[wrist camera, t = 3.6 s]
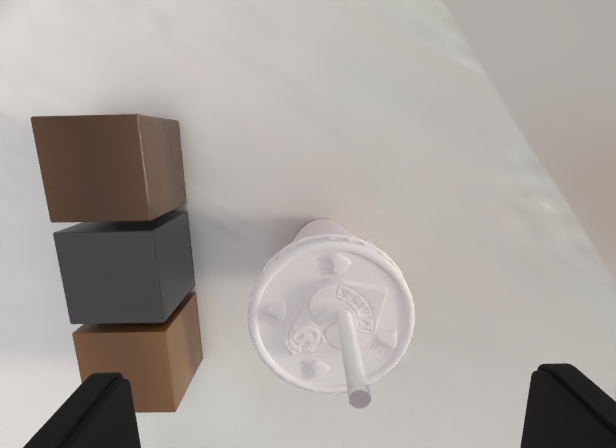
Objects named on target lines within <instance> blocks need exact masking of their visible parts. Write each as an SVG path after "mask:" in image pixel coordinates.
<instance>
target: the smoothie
mask: <svg viewBox="0 0 616 448" xmlns="http://www.w3.org/2000/svg"><path fill="white" fill-rule="evenodd" d="M248 325H249V332H250V336H251V339H252V342H253V345H254V347H255V349H256V351H257V353H258V355H259V356H260V358H261V359H262V361H263V362H264V363H265V364H266V365H267V367H268V368H269V369H270V370H271V371H272V372H274V373H275V374H276V375H277V376H279V377H280V378H281V379H283V380H285V381H286V382H288V383H290V384H292V385H294V386H296V387H299V388H302V389H305V390H308V391H313V392H319V393H343V392H348V398H349V403H350V404H351V405H352V406H353V407H355V408H364V407H366V406H368V405H369V403H370V401H371V396H370V392H369V387H368V385H370V384H372V383H374V382H376V381H377V380H379V379H381V378H382V377H383V376H385V375H386V374H387V373H388V372H390V371H391V370H392V369H393V368H394V367H395V366H396V365H397V363H398V362H399V361H400V360H401V358H402V357H403V355H404V354H405V352H406V350H407V348H408V346H409V344H410V341H411V339H412V335H413V331H414V326H415V307H414V302H413V298H412V294H411V292H410V289H409V287H408V285H407V283H406V281H405V279H404V277H403V275H402V273H401V271H400V269H399V268H398V267H397V266H396V264H395V263H394V262H393V261H392V260H391V258H390V257H389V256H388V255H387V254H386V253H384V252H383V251H381V250H380V249H378V248H377V247H375V246H374V245H373V244H371V243H370V242H367V241H364V240H361V239H358V238H356V237H354V236H353V235H352V234H351V233H350V232H349V231H348V230H346V229H345V228H344V227H343V226H342V225H340V224H339V223H337V222H335V221H333V220H329V219H318V220H314V221H312V222H309V223H308V224H306V225H305V226H304V227H303V228H302V229H301V230H300V231H299V233H298V234H297V235H296V237H295V238H294V239H293V241H292V242H291V243H290V244H289V245H287V246H285V247H284V248H283V249H281V250H280V251H279V252H278V253H277V254H275V255H274V256H273V257H272V258H271V259H269V260H268V262H267V263H266V265H265V266H264V268H263V269H262V271H261V272H260V273H259V275H258V276H257V279H256V282H255V285H254V288H253V290H252V293H251V300H250V304H249V310H248Z"/></svg>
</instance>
